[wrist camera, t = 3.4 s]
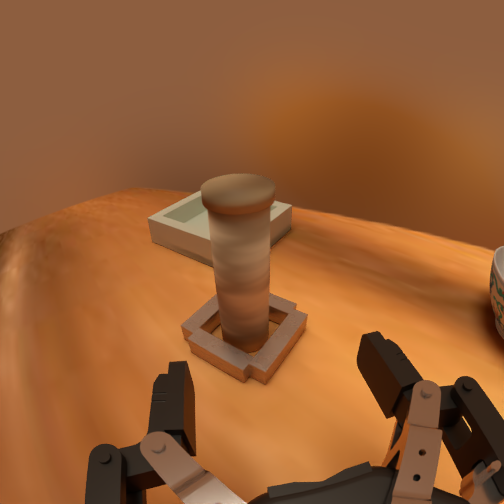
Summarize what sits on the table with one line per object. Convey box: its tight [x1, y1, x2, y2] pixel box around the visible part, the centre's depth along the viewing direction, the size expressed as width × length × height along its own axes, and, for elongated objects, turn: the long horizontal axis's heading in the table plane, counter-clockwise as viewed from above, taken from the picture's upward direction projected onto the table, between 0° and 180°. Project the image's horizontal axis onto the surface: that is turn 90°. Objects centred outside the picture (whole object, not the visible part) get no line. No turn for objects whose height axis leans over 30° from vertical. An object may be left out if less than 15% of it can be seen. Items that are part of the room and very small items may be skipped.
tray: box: [148, 191, 292, 267], centre depth 43 cm, size 16×14×4 cm
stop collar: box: [181, 293, 308, 384], centre depth 27 cm, size 9×9×2 cm
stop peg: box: [201, 174, 275, 353], centre depth 24 cm, size 5×5×15 cm
